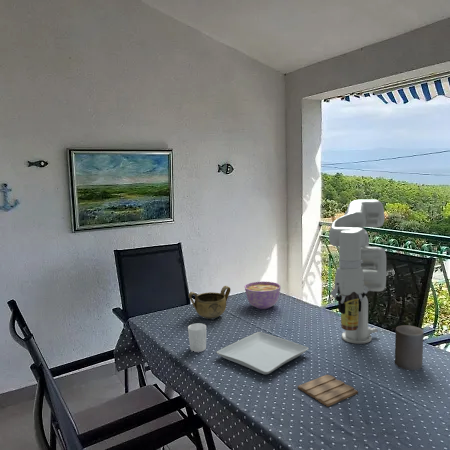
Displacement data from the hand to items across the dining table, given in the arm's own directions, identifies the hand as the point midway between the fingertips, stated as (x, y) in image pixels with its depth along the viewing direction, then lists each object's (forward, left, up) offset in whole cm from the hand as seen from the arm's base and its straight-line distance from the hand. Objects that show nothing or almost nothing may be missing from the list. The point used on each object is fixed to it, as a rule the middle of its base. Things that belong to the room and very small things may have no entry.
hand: (349, 311), depth 154 cm
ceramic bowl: (+35, -73, -22) cm, 84 cm away
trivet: (+16, +12, -22) cm, 30 cm away
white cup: (+50, -37, -22) cm, 66 cm away
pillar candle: (-22, +6, -22) cm, 31 cm away
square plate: (+27, -20, -22) cm, 41 cm away
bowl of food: (+4, -78, -22) cm, 81 cm away
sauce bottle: (0, 0, -7) cm, 7 cm away
